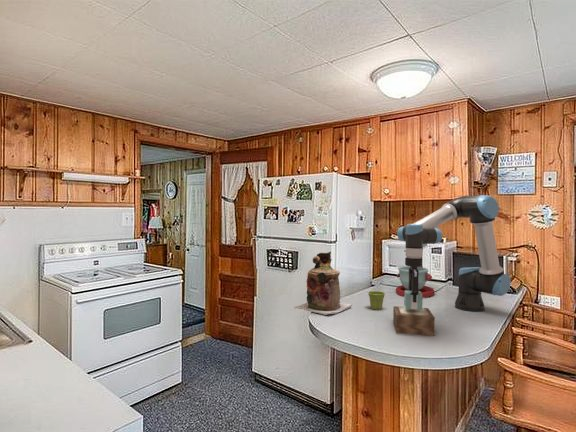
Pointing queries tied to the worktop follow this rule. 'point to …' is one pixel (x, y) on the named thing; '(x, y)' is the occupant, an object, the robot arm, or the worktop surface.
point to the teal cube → (408, 300)
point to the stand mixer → (422, 279)
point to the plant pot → (376, 299)
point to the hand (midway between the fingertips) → (412, 306)
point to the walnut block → (413, 321)
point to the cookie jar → (323, 288)
